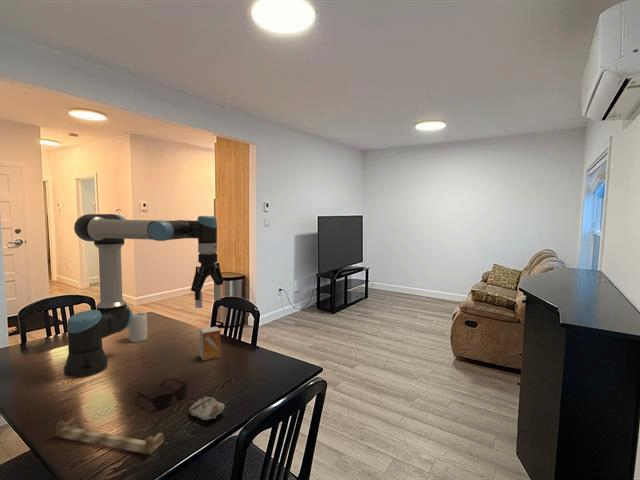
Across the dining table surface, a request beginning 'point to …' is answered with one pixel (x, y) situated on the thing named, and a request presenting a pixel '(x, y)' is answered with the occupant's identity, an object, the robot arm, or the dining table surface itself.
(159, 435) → the beige long bar
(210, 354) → the small box
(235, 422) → the dining table surface
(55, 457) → the dining table surface
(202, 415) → the stone
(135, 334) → the cup
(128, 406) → the dining table surface
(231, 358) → the dining table surface
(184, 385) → the sunglasses
